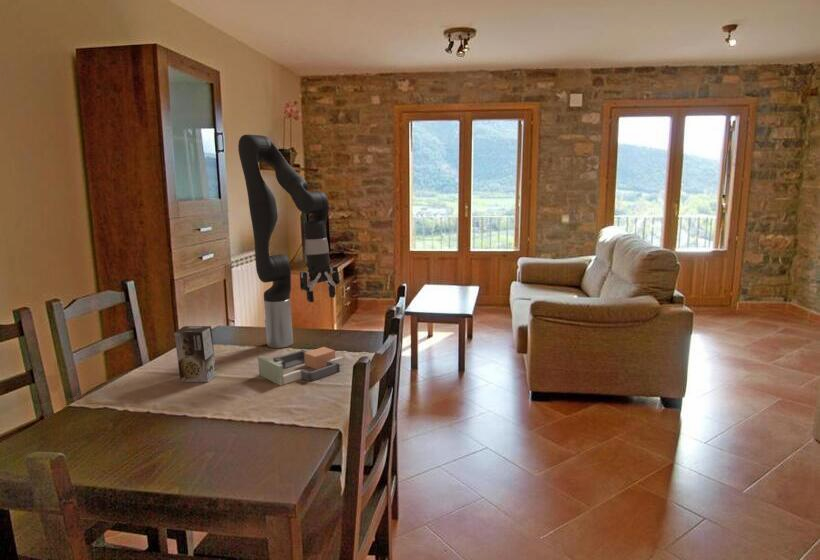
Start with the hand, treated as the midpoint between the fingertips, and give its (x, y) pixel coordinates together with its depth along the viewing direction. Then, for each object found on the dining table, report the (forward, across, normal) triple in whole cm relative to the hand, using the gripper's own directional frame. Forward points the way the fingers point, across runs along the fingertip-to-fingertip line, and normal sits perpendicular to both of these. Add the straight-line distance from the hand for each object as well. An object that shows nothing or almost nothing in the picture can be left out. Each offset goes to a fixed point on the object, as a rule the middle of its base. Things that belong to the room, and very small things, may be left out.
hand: (321, 299), depth 180 cm
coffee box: (+19, +40, -12) cm, 46 cm away
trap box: (+20, +12, +5) cm, 24 cm away
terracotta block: (+20, +6, +5) cm, 22 cm away
